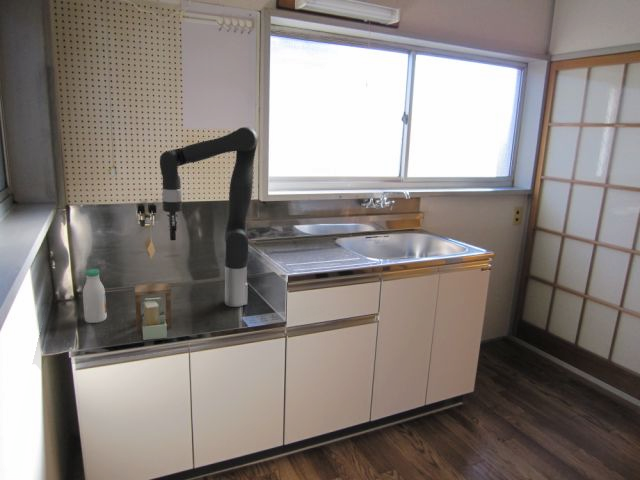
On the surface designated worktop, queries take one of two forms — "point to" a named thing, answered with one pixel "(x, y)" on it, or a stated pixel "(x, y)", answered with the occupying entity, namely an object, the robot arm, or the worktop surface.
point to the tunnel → (153, 290)
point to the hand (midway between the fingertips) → (172, 239)
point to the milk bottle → (94, 298)
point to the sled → (155, 330)
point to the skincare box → (151, 313)
